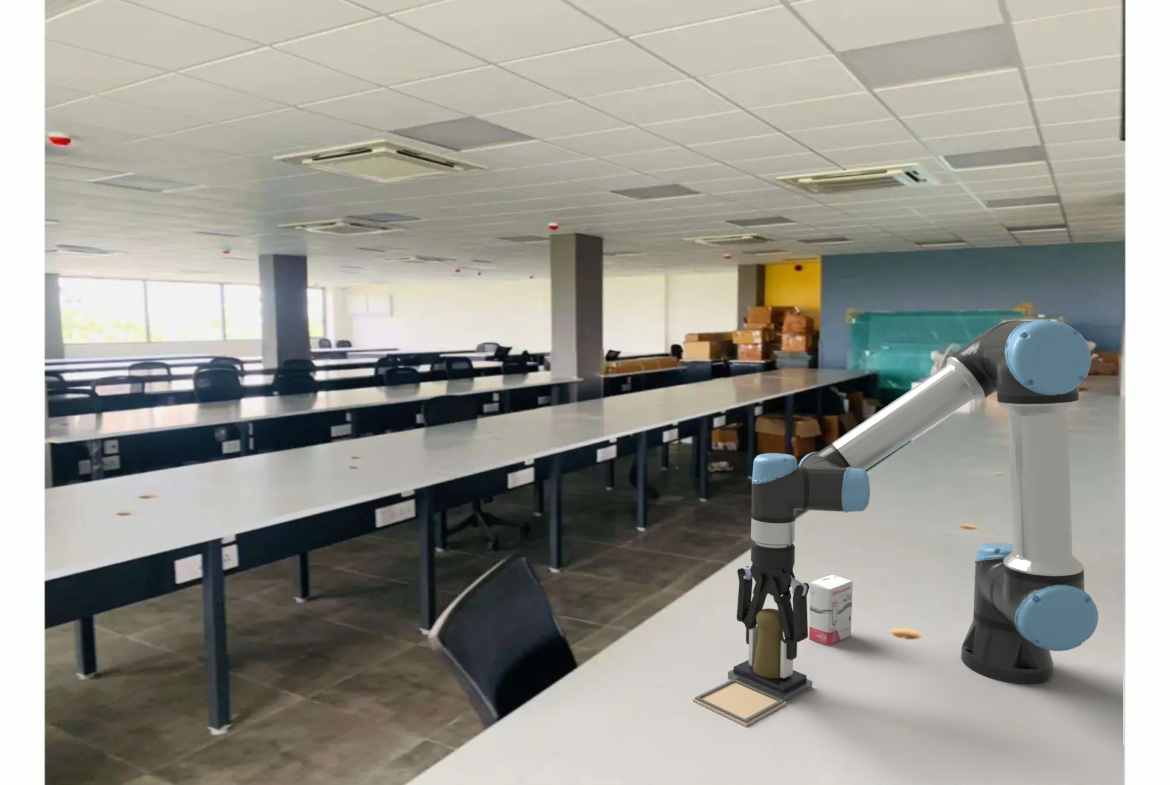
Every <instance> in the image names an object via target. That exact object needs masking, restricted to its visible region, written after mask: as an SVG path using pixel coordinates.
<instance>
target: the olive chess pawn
mask: <svg viewBox="0 0 1170 785" xmlns="http://www.w3.org/2000/svg"><path fill="white" fill-rule="evenodd" d="M756 622H757V625H756V626H758V627H759V633H758V640H757V646H756V652H755V659H754V665H753V671H754V672H755V673H756V674H757V675H759V676H762V677H766V678H774V679H775V678H781V677H780V660H781V641H782V640H784V639H785V637H784V632H783V628H782V624H781V620H780V615H779V611H778V608H777V609H776V608H771V607H770V608H768V607H767V608H763V609H762V610H760V611H759V612H758V614H757V617H756Z"/></svg>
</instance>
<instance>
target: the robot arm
mask: <svg viewBox="0 0 1170 785" xmlns="http://www.w3.org/2000/svg"><path fill="white" fill-rule="evenodd" d="M1091 354H1092V353H1091V350H1090V346H1089V344H1088V342H1087V340H1086V339H1085V338H1084V336H1083V334H1081V333H1080V332H1079V331H1078V330H1076V329H1075V328H1073V327H1072V326H1071V325H1069V324H1066V323H1063V322H1060V321H1055V320H1051V319H1039V318H1037V319H1033V320H1032V319H1031V320H1006V321H1003V322H1000V323H998V324H996V325H994V326H992V327H990V328H988V329H987V330H986V331H983V332H982V333H981V334H979V335H978V336H977V337H975V338H974V339H972V340H971V341H970V342H968V343H967V344H965V345H964V346H962V348H960V349H959V350H957V351H956V352H954V353H953V354H951V355H950V356H949V357H948V358H946V365H945V366H944V367H942V368H941V369H939V370H938V371H936V372H934V374H932V375H929V377H927V378H926V379H924V380H923V381H922V382H920V383H919V384H917V385H916V386H914V387H913V388H912V389H910V390H908V391H907V392H906V393H904V394H903V395H901V396H899V397H898V398H896V399H895V400H894V401H892V402H890V403H889V404H888V405H886V406H885V407H883V408H881V410H878V411H877V412H876V413H874V414H873V415H871V416H870V417H869V418H867V419H865V421H863V422H861V423H860V424H858V425H857V426H855V427H854V428H853V429H851V430H849V431H848V432H846V433H845V434H843V435H842V436H841V437H839V438H837V439H836V440H835V441H833V442H831V444H829V445H827V446H825V447H824V448H823V449H821V450H820V451H813V452H810V453H808V454H806V455H804V456H803V457H802V459H801V460H800V462H799V464H798V459H797V457H795V456H794V455H792V454H787V453H780V452H778V453H777V452H774V453H773V452H767V453H762V454H761V453H760V454H759V455H756V457H755V458H754V459H753V465H752V478H751V524H750V525H751V526H750V528H751V529H750V538H751V540H752V542H751V543H750V561H751V563H752V564H751V566H748V565H747V566H744V567H741V568H738V569H737V576H738V592H737V593H738V594H737V606H736V607H737V609H736V620H737V621H738V622H741V623H742V624H744V627H745V643H746V644H747V645H748V660H749V665H751V666H752V665H754V659H755V652H756V646H757V640H758V633H759V627H758V626H757V622H756V617H757V614H758V612H759V611H760V610H762V609H764V606H765V602H766V599H767V596H768V594H769V595H770V596H772V597H773V601H774V603H776V605H777V610H778V611H779V615H780V620H781V624H782V628H783V636H784V640H782V641H781V660H780V677H781V678H786V677H788V676H790V675H792V674H793V670H794V660H795V659H796V658H797V657H798V643H800V642H802V641H804V640H806V639H809V626H808V625H809V624H808V623H809V622H808V621H809V620H808V597H807V596H808V593H809V591H810V584H809V583H808V582H801V581H799V580H797V579H796V576H795V573H794V566H795V560H796V559H795V556H796V555H795V554H796V546H795V544H794V543H795V541H796V512H797V511H799V510H800V511H821V512H826V511H827V512H841V513H843V512H844V513H851V512H852V513H853V512H854V513H855V512H864V511H865V510H866V509H867V508H868V506H869V503H870V497H871V486H870V478H869V475H868V472H867V471H866V470H868V469H870V468H871V467H873V466H874V465H875V464H876V463H878V462H880V461H882V460H883V459H884V458H886V457H887V456H889V455H890V454H892V453H893V452H896V450H898V449H900V448H901V447H902V446H905V445H906V444H907V443H909V442H910V441H912V440H913V439H915V438H916V437H917V436H919V435H920V434H922V433H923V432H925V431H926V430H929V429H930V428H932V427H933V426H934V425H936V424H938V423H939V422H940V421H943V420H944V419H945V418H946V417H948V416H950V415H952V413H955V412H956V411H957V410H959V409H960V408H962V407H963V406H965V405H967V404H968V403H969V402H971V401H972V400H980V401H982V400H984V399H986V398H987V397H989V396H991V395H992V394H993V393H996V395H997V396H996V399H997V404H998V405H999V406H1000V407H1002V409H1004V410H1005V411H1006V413H1007V417H1008V418H1007V419H1008V420H1007V421H1008V445H1009V449H1008V450H1009V471H1010V475H1009V476H1010V499H1011V501H1010V504H1011V507H1010V508H1011V528H1012V529H1011V530H1012V543H1003V542H1001V543H1000V542H998V543H997V542H991V543H983V544H981V545H979V546H978V547H977V549H976V555H975V560H974V563H975V564H974V565H975V566H974V568H975V570H974V590H973V591H974V592H973V593H974V594H973V614H972V617H973V618H972V622H971V623H970V626H969V629H968V631H967V633H966V635H965V637H964V640H963V642H962V644H961V655H960V658H961V661H962V663H964V665H965V666H967V667H968V668H969V669H971V670H973V671H974V672H976V673H979V674H981V675H983V676H986V677H988V678H992V679H996V680H999V681H1005V682H1009V683H1010V682H1011V683H1014V684H1015V683H1017V684H1040V683H1045V682H1048V681H1049V680H1051V679H1052V678H1053V676H1054V661H1053V656H1052V655H1051V651H1052V652H1064V651H1069V650H1073V649H1076V648H1078V647H1080V646H1082V645H1083V643H1084V642H1086V641H1087V640H1089V639H1090V638H1091V637H1092V636H1093V635H1094V633H1095V631H1096V629H1097V627H1098V625H1099V624H1098V623H1099V612H1098V608H1097V605H1096V603H1095V601H1094V600H1093V598H1092V597H1091V596H1090V594H1089V593H1087V592H1086V591H1085V567H1084V564H1083V563H1082V562H1081V561H1079V559H1078V558H1076V556H1074V555H1073V538H1072V537H1073V536H1072V535H1073V534H1072V532H1073V531H1072V504H1071V503H1072V500H1071V498H1072V497H1071V496H1072V495H1071V470H1070V468H1071V466H1070V464H1071V462H1070V437H1069V436H1070V435H1069V433H1070V432H1069V429H1070V428H1069V412H1070V410H1071V409H1072V408H1074V407H1075V406H1076V405H1077V404H1078V403H1079V402H1080V394H1079V392H1080V391H1079V386H1080V385H1081V383H1082V382H1083V381H1084V380H1085V379H1086V378H1087V377H1088V375H1089V372H1090V370H1091V369H1090V368H1091V364H1092V355H1091ZM753 580H754V582H755V583H754V587H753ZM791 587H792V590H791V589H790V588H791ZM791 593H792V594H793V595H792V594H791ZM791 599H792V601H791Z"/></svg>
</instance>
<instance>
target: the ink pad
mask: <svg viewBox="0 0 1170 785" xmlns="http://www.w3.org/2000/svg"><path fill="white" fill-rule="evenodd" d="M727 679H728V680H732V679H735V680H738V681H740V682H742V683H745V684H747V685H749V686H752V687H754V688H756V689H759V690H761V691H763V692H766V693H768V694H770V695H773V696H775V697H777V698H780V699H782V700H784V702H786V703H787V702H788V701H790V700H792V699H794V698H795V697H798V696H799V695H801V694H804V693H805V692H807V691H809V690H810V689H812V688H813V680H810V679H809V678H807V674H805V673H801V672H799V671H796V670H795V669H793V674H792V675H790V676H788V677H786V678H775V679H774V678H766V677H762V676H759V675H757V674H756V673H755V672H754V671H753V665H752V666H751V665H749V659H748V660H745V661H743V662H741V663H738V664H736V665H735V666H733V669H731V670H729V671H727Z"/></svg>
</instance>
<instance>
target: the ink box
mask: <svg viewBox="0 0 1170 785" xmlns="http://www.w3.org/2000/svg"><path fill="white" fill-rule="evenodd" d="M853 583H854V581H853V580H850V579H846V578H844V577H842V576H841V577H840V576H838V575H835V574H830V575H827V576H824V577H821V578H818V579H816V580H813V581H811V582H810V584H809V620H808V621H809V622H808V623H809V624H808V625H809V626H808V639H809V640H811V641H814V642H816V643H820V644H822V645H827V646H832V645H833V644H835V643H837V642H840V641H842V640H844V639H846V638H848V637H851V636H852V614H853V612H852V610H853V607H852V606H853V586H854V585H853Z"/></svg>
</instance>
